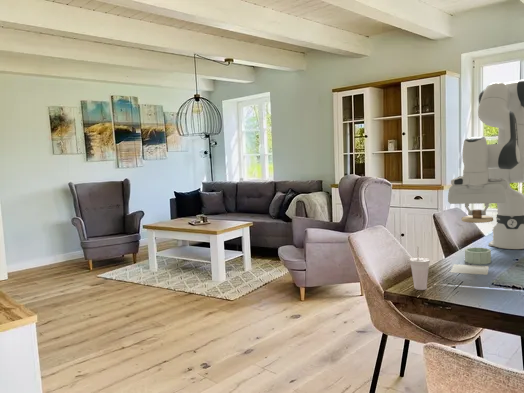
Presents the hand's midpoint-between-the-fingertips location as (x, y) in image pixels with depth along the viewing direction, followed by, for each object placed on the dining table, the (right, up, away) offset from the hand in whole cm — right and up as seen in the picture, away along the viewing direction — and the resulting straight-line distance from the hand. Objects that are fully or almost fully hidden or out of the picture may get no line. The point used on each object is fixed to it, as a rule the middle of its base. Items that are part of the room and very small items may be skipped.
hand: (477, 215), depth 172 cm
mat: (-7, -20, -9) cm, 23 cm away
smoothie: (-31, -23, -25) cm, 46 cm away
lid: (0, -2, 0) cm, 2 cm away
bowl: (+1, -19, +2) cm, 19 cm away
